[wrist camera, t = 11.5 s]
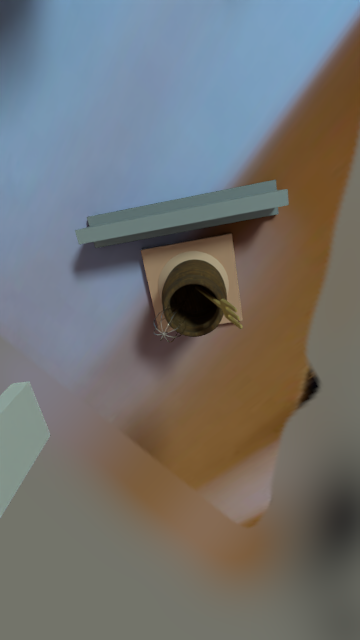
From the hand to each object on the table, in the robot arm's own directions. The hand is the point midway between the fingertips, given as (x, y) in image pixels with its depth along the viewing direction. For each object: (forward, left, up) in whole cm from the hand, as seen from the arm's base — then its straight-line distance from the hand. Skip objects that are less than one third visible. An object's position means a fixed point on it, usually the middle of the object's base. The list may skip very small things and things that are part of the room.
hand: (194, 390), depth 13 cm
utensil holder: (+1, 0, -21) cm, 21 cm away
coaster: (+1, -1, -22) cm, 22 cm away
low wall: (-6, -1, -22) cm, 23 cm away
